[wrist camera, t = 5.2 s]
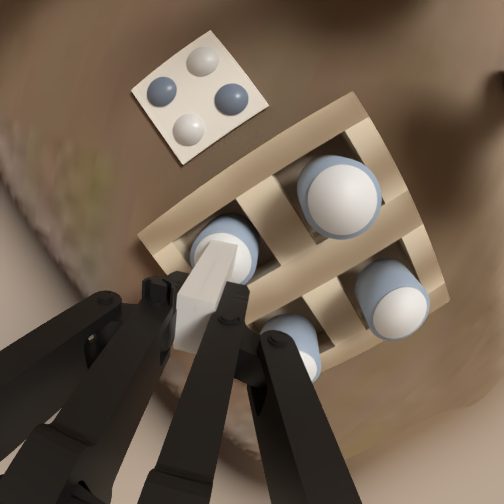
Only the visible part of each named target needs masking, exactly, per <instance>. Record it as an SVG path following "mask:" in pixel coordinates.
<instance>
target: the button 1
mask: <svg viewBox="0 0 504 504" xmlns="http://www.w3.org/2000/svg"><path fill="white" fill-rule="evenodd" d="M212 239H214V240H218V241H223V242H228V243H233V244H237V245H238V247H237V253H236V258H235V263H234V269H233V274H232V279H231V282H233V283H238V284H243V285H244V284H246V283H247V282H248V281H249V280H250V279H251V278H252V276H253V274H254V272H255V269H256V265H257V259H258V254H259V248H260V236H259V232H258V230H257V229H256V228H255V226H254V225H253V223H252V222H251V221H250V220H249V219H248V218H246V217H244V216H242V215H239V214H235V213H226V214H221V215H219V216H217V217H215V218H214V219H212V220H211V221H210V222H209V224H208V225H207V226H206V227H205V229H204V230H203V231H202V232H201V233H200V235H199V236H198V237H197V238H196V240H195V241H194V243H193V245H192V248H191V252H190V262H191V266H192V269H193V268H194V267H195V265H196V263H197V262H198V260H199V259H200V257H201V256H202V254H203V253H204V251H205V249H206V248H207V246H208V245H209V243H210V242H211V240H212Z"/></svg>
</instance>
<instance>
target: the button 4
mask: <svg viewBox="0 0 504 504" xmlns="http://www.w3.org/2000/svg"><path fill="white" fill-rule="evenodd" d="M355 294H356V298H357V300H358V302H359V304H360V307H361V309H362V311H363V314H364V316H365V318H366V321H367V323H368V325H369V328H370V330H371V331H372V333H373V334H374V335H375V336H377V337H378V338H380V339H383V340H388V341H394V340H399V339H403V338H405V337H407V336H409V335H411V334H412V333H414V332H415V331H416V330H417V329H418V328H419V327H420V326H421V325H422V324H423V322H424V321H425V319H426V317H427V315H428V312H429V308H430V299H429V295H428V293H427V291H426V290H425V288H424V287H423V286H422V285H421V284H420V283H419V281H418V280H417V279H416V278H415V277H414V276H413V274H412V273H411V272H410V271H409V270H408V269H407V268H406V267H405V265H404V264H403V263H401V262H400V261H398V260H396V259H393V258H382V259H378V260H375V261H373V262H371V263H370V264H368V265H367V266H366V267H365V268H364V269H363V270H362V272H361V273H360V274H359V276H358V278H357V281H356V285H355Z"/></svg>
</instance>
